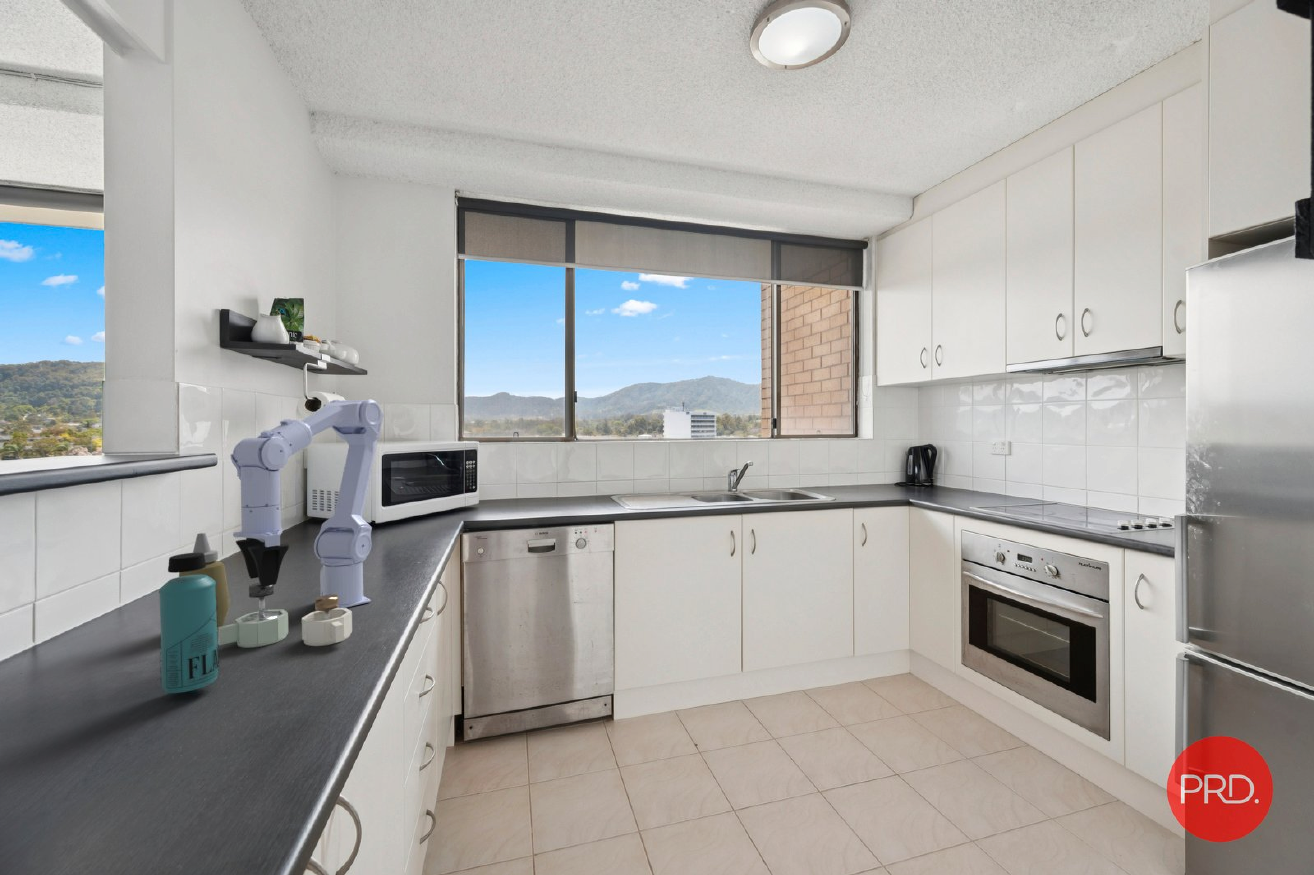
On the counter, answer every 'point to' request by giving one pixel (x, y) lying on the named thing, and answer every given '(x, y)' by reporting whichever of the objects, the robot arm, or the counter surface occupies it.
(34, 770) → the counter surface
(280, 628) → the sage press pot
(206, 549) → the squeeze bottle
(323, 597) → the cream press plunger
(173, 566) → the beverage bottle
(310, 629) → the cream press pot
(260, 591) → the sage press plunger
